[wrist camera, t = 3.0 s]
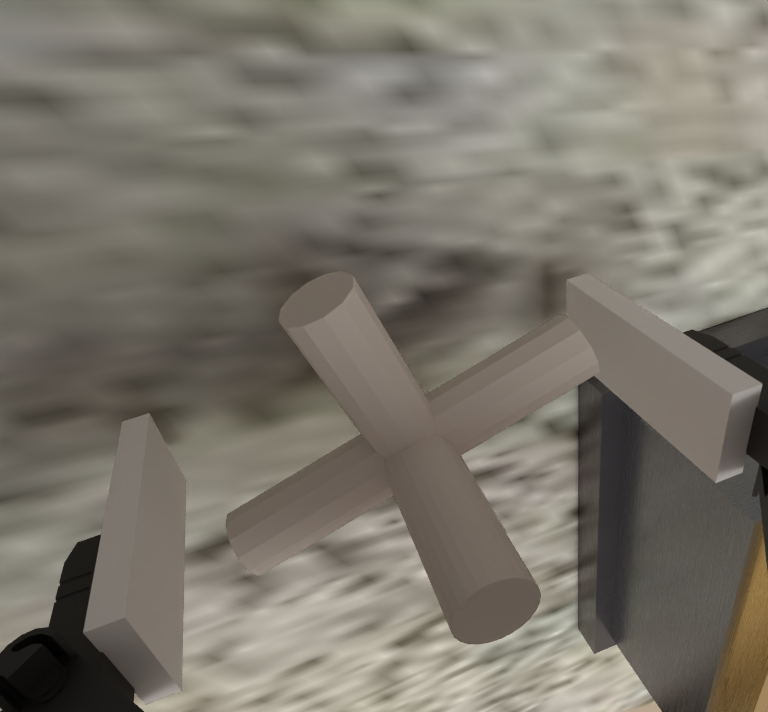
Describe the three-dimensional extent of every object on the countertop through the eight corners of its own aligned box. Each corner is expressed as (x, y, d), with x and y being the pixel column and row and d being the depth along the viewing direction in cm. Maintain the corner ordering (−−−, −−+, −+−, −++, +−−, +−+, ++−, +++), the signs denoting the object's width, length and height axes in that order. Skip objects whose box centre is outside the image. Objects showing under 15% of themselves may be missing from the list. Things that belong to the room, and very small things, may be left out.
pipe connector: (434, 133, 16) (697, 254, 8) (535, 376, 21) (750, 598, 13) (131, 318, 16) (63, 634, 8) (311, 510, 22) (383, 814, 13)
